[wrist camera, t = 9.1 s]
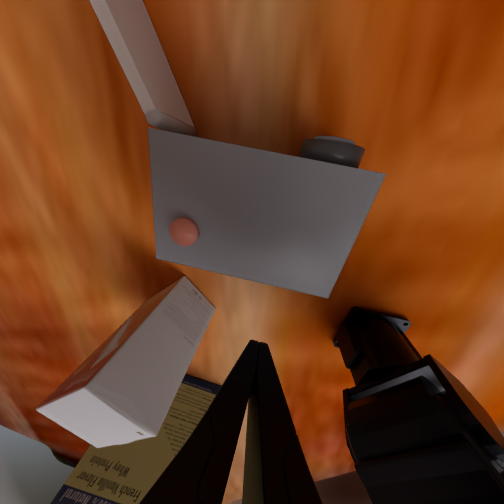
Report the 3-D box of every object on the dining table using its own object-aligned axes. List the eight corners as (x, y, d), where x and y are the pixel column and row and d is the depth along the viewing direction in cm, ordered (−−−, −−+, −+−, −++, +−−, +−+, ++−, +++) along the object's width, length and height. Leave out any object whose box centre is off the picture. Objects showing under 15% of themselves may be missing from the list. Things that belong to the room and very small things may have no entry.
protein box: (146, 360, 32) (41, 511, 18) (231, 388, 32) (192, 562, 18) (145, 391, 36) (61, 530, 22) (219, 415, 36) (181, 570, 22)
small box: (184, 273, 23) (82, 387, 11) (217, 308, 24) (158, 439, 13) (145, 299, 25) (30, 411, 14) (177, 328, 27) (99, 451, 15)
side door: (126, -6, 13) (31, -113, 8) (137, -15, 13) (45, -132, 8) (189, 141, 16) (149, 129, 11) (198, 136, 16) (162, 122, 11)
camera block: (356, 151, 15) (407, 141, 9) (314, 262, 19) (329, 303, 14) (192, 120, 16) (138, 91, 10) (189, 234, 20) (151, 261, 14)
